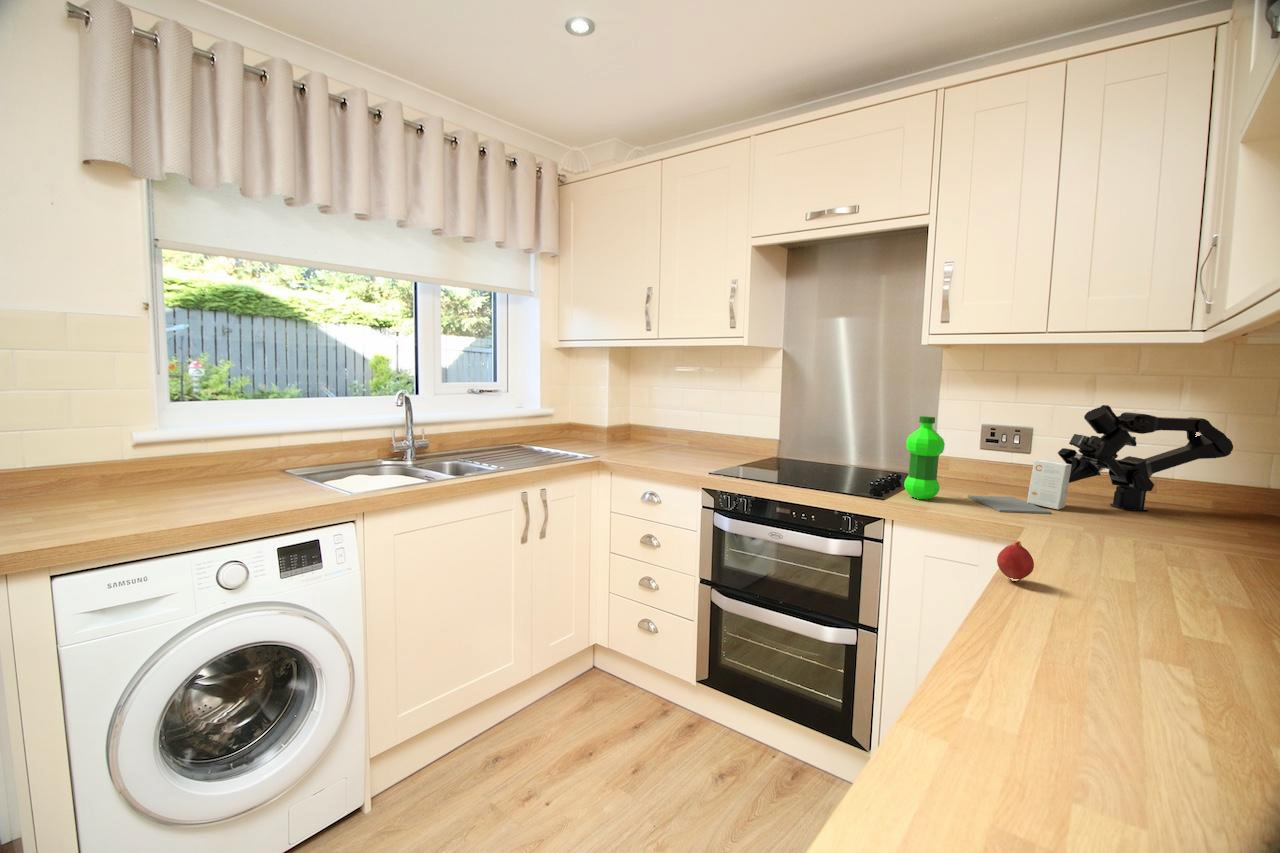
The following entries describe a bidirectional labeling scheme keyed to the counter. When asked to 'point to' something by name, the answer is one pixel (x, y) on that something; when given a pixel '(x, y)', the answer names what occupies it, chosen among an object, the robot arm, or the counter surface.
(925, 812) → the counter surface
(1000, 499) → the mat
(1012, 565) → the onion
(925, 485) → the plastic bottle
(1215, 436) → the robot arm
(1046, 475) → the small box
